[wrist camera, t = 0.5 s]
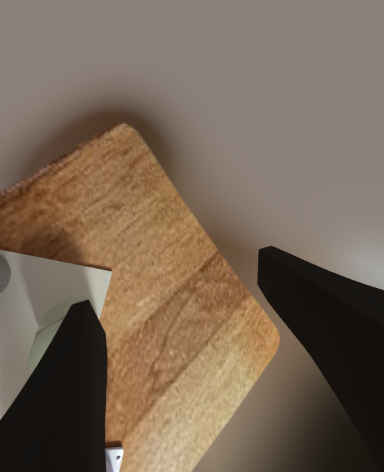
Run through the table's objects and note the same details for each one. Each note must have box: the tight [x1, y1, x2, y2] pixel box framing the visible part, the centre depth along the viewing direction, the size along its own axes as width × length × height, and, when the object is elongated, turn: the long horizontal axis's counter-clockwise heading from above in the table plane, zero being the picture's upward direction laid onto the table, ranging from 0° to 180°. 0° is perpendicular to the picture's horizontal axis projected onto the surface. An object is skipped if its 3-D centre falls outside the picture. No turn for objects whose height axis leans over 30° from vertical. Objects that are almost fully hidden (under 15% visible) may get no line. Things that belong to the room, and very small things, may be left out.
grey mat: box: [0, 250, 112, 420], centre depth 26 cm, size 20×18×1 cm
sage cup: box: [28, 300, 78, 372], centre depth 25 cm, size 6×6×8 cm
